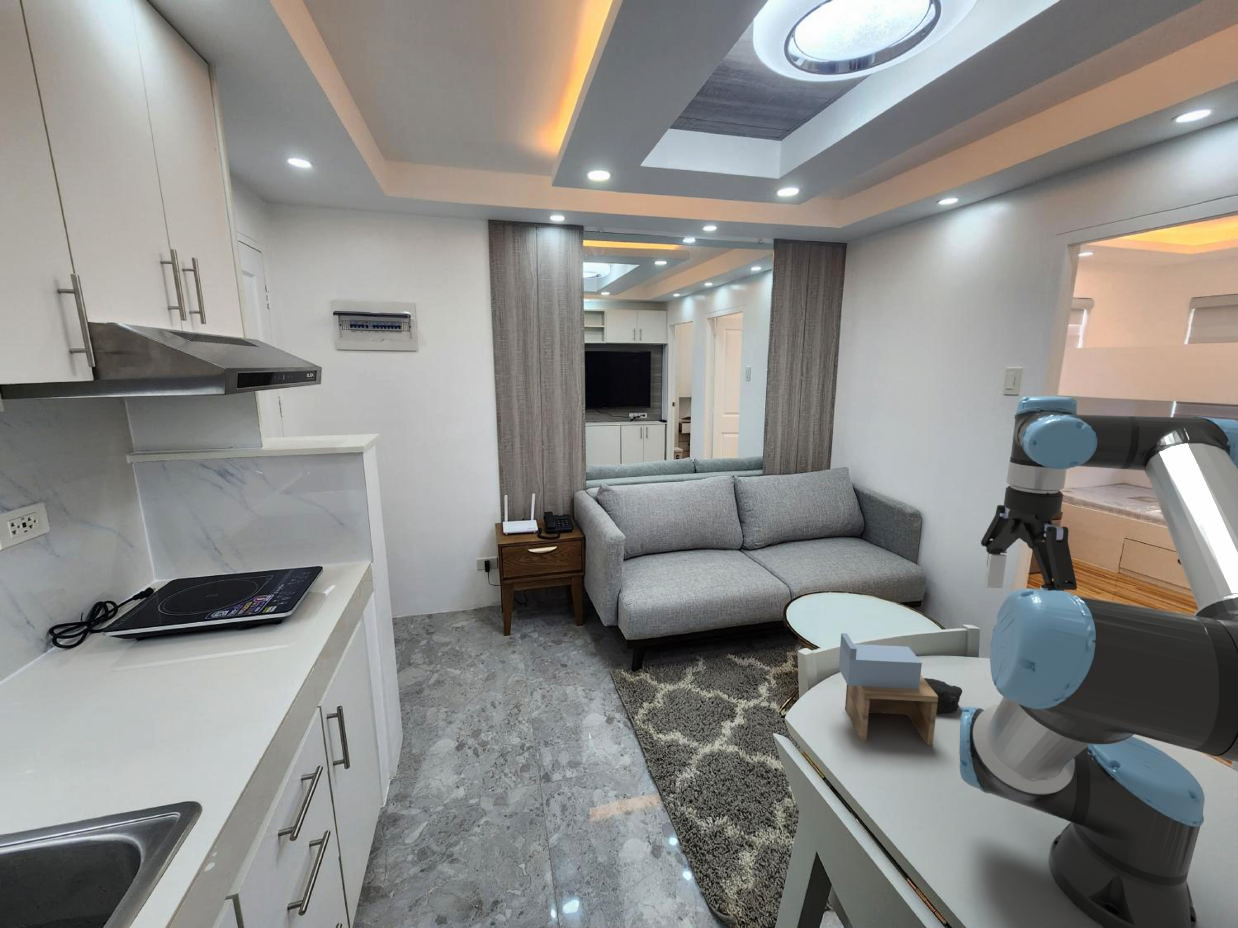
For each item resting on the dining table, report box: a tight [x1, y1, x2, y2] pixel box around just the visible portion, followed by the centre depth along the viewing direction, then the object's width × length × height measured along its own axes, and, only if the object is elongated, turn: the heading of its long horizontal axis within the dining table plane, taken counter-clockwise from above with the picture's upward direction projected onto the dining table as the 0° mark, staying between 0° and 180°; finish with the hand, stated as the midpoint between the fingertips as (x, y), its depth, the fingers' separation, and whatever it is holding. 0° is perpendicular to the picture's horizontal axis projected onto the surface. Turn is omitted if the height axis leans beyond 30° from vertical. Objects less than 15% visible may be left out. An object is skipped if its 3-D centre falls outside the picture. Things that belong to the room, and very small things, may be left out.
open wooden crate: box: [844, 674, 938, 746], centre depth 106 cm, size 10×14×11 cm
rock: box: [923, 677, 963, 716], centre depth 112 cm, size 10×9×6 cm
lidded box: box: [838, 632, 923, 689], centre depth 104 cm, size 14×6×8 cm, turn 83°
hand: (1017, 603), depth 88 cm, fingers open, 13 cm apart
